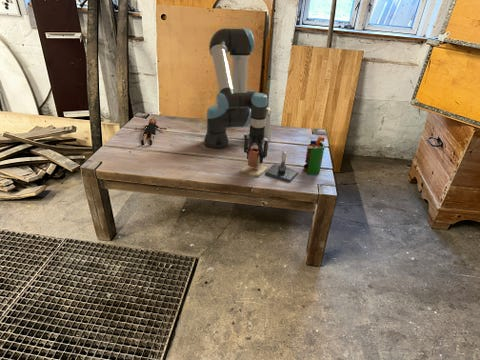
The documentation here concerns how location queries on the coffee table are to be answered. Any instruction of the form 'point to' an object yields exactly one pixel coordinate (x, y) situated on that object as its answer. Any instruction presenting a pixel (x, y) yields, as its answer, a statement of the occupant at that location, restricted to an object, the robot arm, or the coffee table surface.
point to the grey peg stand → (282, 170)
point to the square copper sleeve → (253, 157)
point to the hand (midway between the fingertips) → (254, 166)
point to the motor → (314, 156)
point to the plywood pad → (253, 170)
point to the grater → (267, 126)
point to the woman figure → (149, 130)
